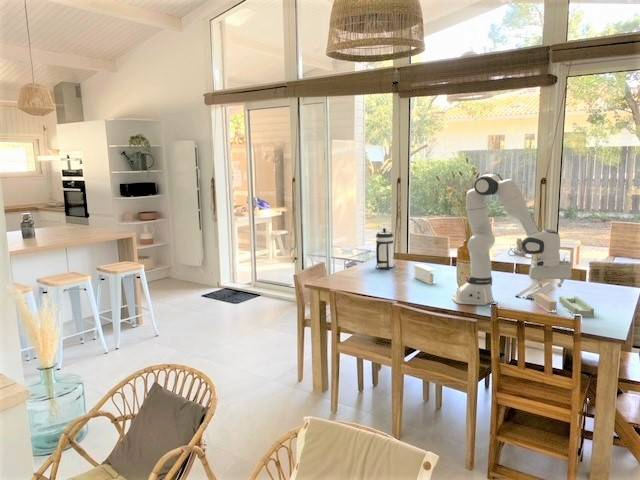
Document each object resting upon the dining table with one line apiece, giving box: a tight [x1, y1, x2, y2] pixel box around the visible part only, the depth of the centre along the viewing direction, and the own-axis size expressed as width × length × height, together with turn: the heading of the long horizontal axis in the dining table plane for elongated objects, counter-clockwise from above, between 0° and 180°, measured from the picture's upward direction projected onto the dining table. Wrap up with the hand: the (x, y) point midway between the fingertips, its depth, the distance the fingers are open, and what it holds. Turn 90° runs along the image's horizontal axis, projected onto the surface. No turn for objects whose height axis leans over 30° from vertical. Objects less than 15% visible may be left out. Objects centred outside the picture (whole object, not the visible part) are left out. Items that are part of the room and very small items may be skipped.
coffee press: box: [375, 228, 396, 271], centre depth 361 cm, size 17×16×30 cm
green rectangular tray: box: [558, 295, 595, 318], centre depth 254 cm, size 9×22×4 cm, turn 173°
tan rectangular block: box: [535, 293, 558, 311], centre depth 258 cm, size 4×16×6 cm, turn 0°
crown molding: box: [515, 281, 555, 300], centre depth 287 cm, size 31×12×4 cm, turn 137°
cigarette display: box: [413, 263, 437, 285], centre depth 324 cm, size 20×6×9 cm, turn 18°
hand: (549, 287), depth 253 cm, fingers open, 8 cm apart
